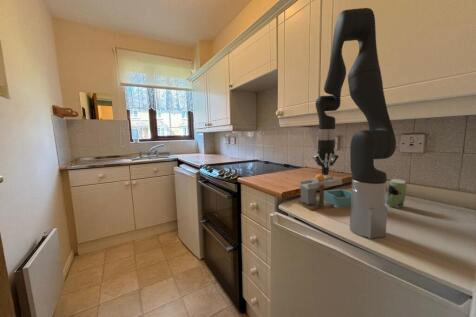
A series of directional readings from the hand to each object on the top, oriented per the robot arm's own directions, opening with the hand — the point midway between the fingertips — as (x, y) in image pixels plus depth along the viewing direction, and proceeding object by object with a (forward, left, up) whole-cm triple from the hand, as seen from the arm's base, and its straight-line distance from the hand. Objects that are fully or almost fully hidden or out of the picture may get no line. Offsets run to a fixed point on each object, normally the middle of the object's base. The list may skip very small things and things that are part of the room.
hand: (325, 174), depth 97 cm
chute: (-3, +6, -10) cm, 12 cm away
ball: (-6, +7, 0) cm, 9 cm away
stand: (-6, +9, -12) cm, 16 cm away
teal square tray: (-6, -4, -12) cm, 14 cm away
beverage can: (-18, -22, -12) cm, 31 cm away
